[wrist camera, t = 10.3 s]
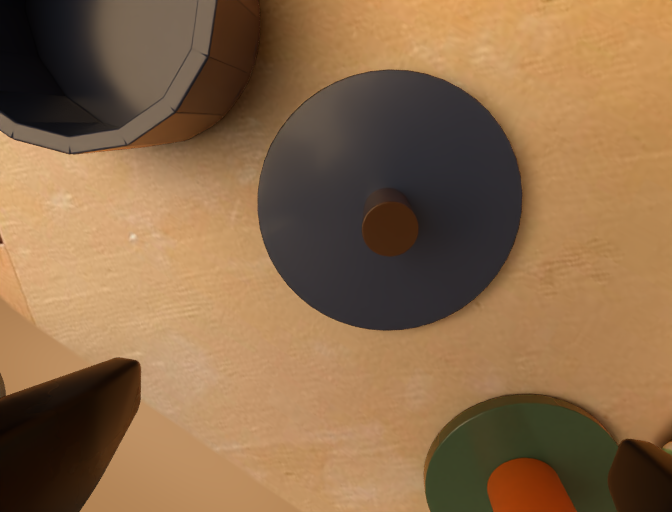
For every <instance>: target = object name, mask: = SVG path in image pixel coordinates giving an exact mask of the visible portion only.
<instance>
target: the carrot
mask: <svg viewBox="0 0 672 512" xmlns="http://www.w3.org/2000/svg"><path fill="white" fill-rule="evenodd" d="M487 493H488V496H489V500H490V503H491V506H492V509H493V512H577V511H576V509H575V507H574V505H573V503H572V501H571V500H570V498H569V496H568V494H567V492H566V490H565V488H564V486H563V484H562V483H561V481H560V479H559V477H558V475H557V473H556V472H555V471H554V469H553V468H552V467H550V466H549V465H548V464H546V463H544V462H542V461H540V460H537V459H532V458H517V459H513V460H510V461H507V462H505V463H503V464H501V465H500V466H498V467H497V468H496V469H495V470H494V471H493V473H492V474H491V476H490V477H489V480H488V484H487Z"/></svg>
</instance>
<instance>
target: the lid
mask: <svg viewBox="0 0 672 512" xmlns="http://www.w3.org/2000/svg"><path fill="white" fill-rule="evenodd" d="M521 212H522V185H521V176H520V172H519V167H518V163H517V159H516V156H515V154H514V151H513V149H512V147H511V144H510V142H509V140H508V138H507V136H506V135H505V133H504V131H503V129H502V128H501V126H500V125H499V124H498V122H497V121H496V120H495V118H494V117H493V116H492V115H491V113H490V112H489V111H488V110H487V109H486V108H485V107H484V106H483V105H482V104H481V103H479V102H478V101H477V100H476V99H475V98H474V97H472V96H471V95H469V94H468V93H467V92H465V91H464V90H462V89H461V88H459V87H457V86H455V85H453V84H451V83H449V82H447V81H445V80H443V79H440V78H437V77H434V76H431V75H428V74H424V73H419V72H414V71H409V70H379V71H370V72H365V73H361V74H357V75H353V76H350V77H347V78H345V79H342V80H340V81H337V82H335V83H333V84H331V85H329V86H327V87H326V88H324V89H322V90H320V91H318V92H317V93H316V94H314V95H313V96H312V97H310V98H309V99H308V100H306V101H305V102H304V103H303V104H302V105H301V106H300V107H299V108H298V109H297V110H296V111H295V112H294V113H293V114H292V115H291V116H290V117H289V118H288V120H287V121H286V122H285V123H284V125H283V126H282V127H281V129H280V130H279V132H278V133H277V135H276V137H275V139H274V140H273V142H272V144H271V146H270V148H269V151H268V153H267V156H266V158H265V160H264V164H263V168H262V171H261V175H260V180H259V188H258V217H259V225H260V230H261V234H262V237H263V241H264V244H265V247H266V249H267V252H268V254H269V257H270V259H271V261H272V262H273V264H274V266H275V268H276V269H277V271H278V273H279V274H280V275H281V277H282V278H283V279H284V281H285V282H286V283H287V285H288V286H289V287H290V288H291V289H292V290H293V291H294V292H295V293H296V294H297V295H298V296H299V297H300V298H301V299H303V300H304V301H305V302H306V303H307V304H309V305H310V306H311V307H313V308H315V309H316V310H318V311H319V312H321V313H322V314H324V315H326V316H328V317H330V318H333V319H335V320H337V321H339V322H342V323H345V324H348V325H351V326H355V327H360V328H365V329H372V330H403V329H409V328H415V327H419V326H423V325H426V324H430V323H433V322H435V321H438V320H440V319H443V318H445V317H447V316H449V315H451V314H453V313H454V312H456V311H458V310H460V309H461V308H463V307H464V306H465V305H467V304H468V303H469V302H471V301H472V300H474V299H475V298H476V297H477V296H478V295H479V294H480V293H481V292H482V291H483V290H484V289H485V288H486V287H487V286H488V285H489V284H490V283H491V281H492V280H493V279H494V278H495V276H496V275H497V274H498V272H499V271H500V269H501V268H502V266H503V264H504V263H505V261H506V260H507V257H508V255H509V253H510V251H511V249H512V247H513V245H514V241H515V238H516V235H517V232H518V229H519V223H520V218H521Z"/></svg>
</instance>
